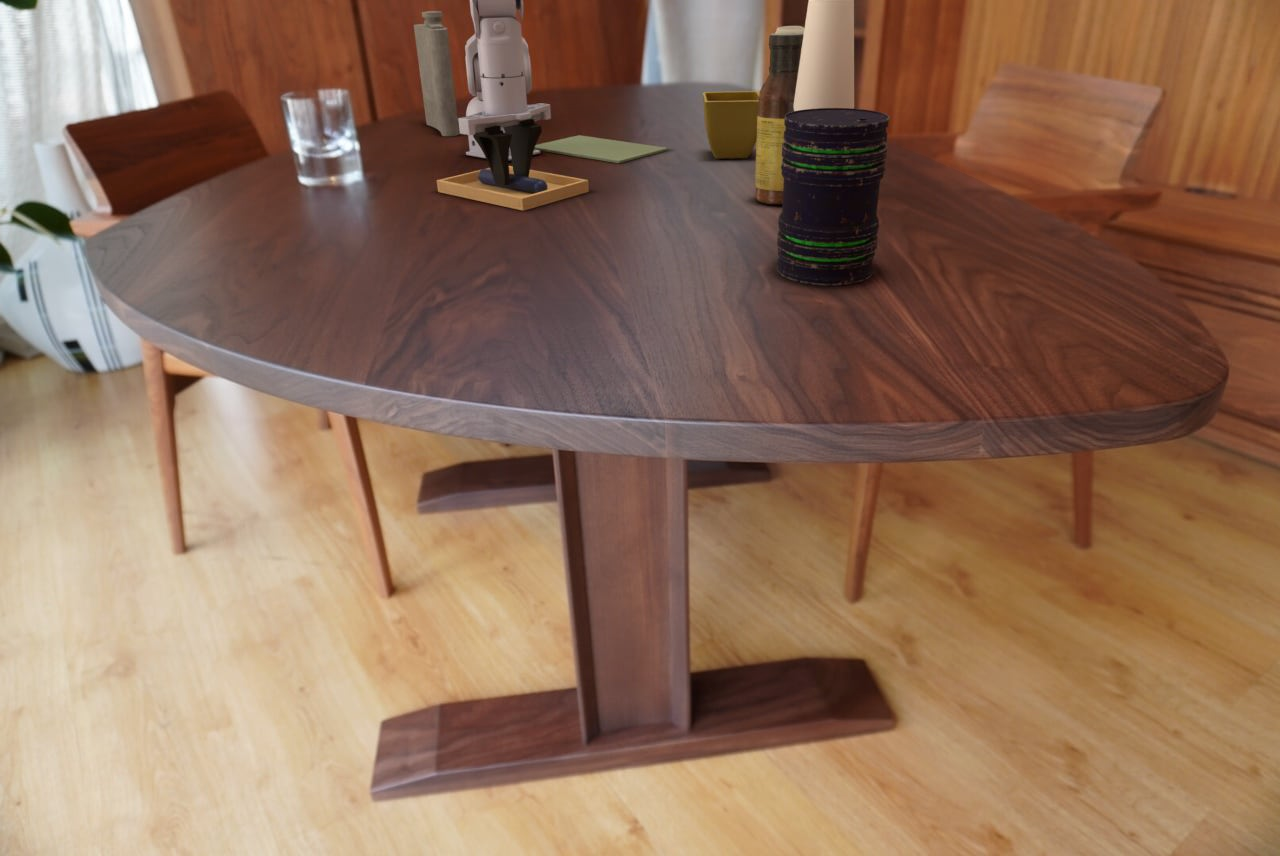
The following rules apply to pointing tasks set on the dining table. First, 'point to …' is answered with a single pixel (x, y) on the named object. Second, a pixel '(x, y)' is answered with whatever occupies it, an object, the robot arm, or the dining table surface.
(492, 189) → the tray
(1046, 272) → the dining table surface
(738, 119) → the flower pot
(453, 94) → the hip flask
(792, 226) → the black cylinder
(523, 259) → the dining table surface
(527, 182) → the pen
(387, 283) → the dining table surface
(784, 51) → the sauce bottle
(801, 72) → the cream tapered cone
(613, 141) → the mat
